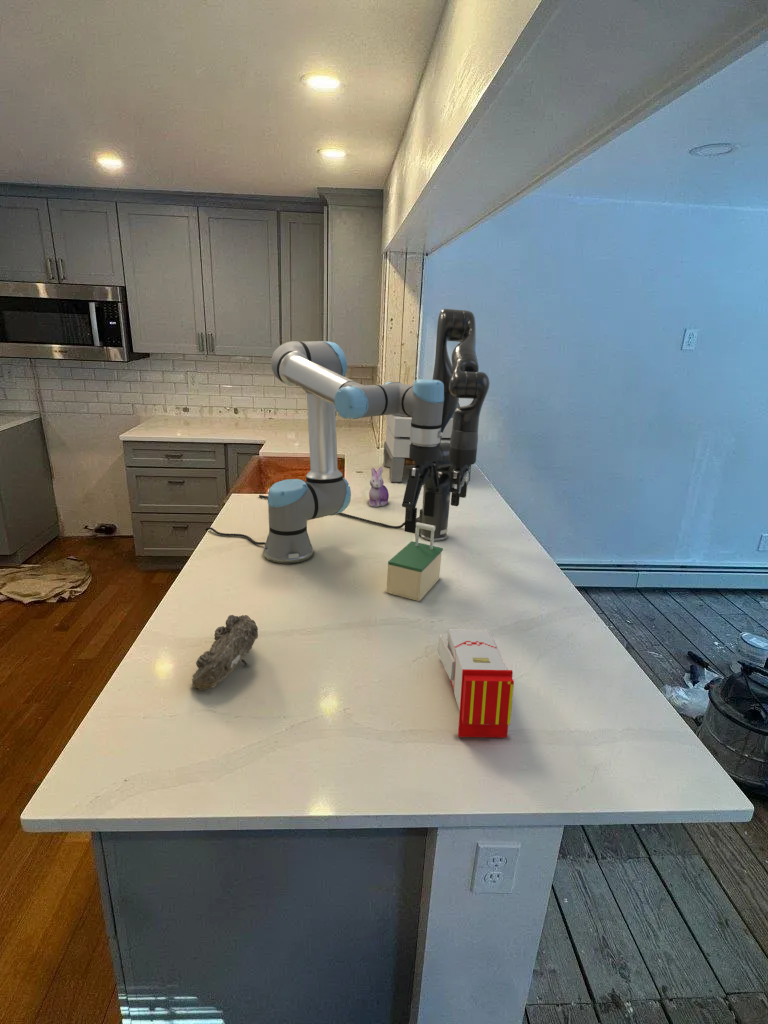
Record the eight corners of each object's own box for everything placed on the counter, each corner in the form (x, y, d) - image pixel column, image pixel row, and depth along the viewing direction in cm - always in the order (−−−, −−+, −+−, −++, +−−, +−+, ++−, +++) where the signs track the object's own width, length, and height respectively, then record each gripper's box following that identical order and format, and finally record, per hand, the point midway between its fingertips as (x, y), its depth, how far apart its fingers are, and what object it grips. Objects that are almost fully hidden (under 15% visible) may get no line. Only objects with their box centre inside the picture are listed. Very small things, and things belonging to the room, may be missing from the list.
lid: (411, 543, 170) (413, 518, 167) (442, 550, 166) (444, 524, 163) (387, 564, 155) (389, 536, 153) (421, 572, 151) (423, 544, 149)
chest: (408, 571, 172) (410, 545, 169) (439, 578, 168) (441, 552, 165) (386, 592, 158) (387, 564, 155) (419, 601, 154) (421, 572, 151)
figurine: (373, 508, 223) (374, 472, 218) (362, 500, 232) (363, 465, 226) (394, 505, 227) (396, 469, 222) (382, 498, 236) (384, 463, 231)
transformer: (382, 463, 289) (386, 382, 275) (445, 464, 293) (451, 384, 279) (390, 482, 257) (394, 392, 243) (460, 483, 261) (468, 394, 247)
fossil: (211, 617, 133) (257, 588, 128) (239, 645, 136) (285, 617, 131) (171, 683, 114) (223, 651, 109) (205, 714, 117) (257, 684, 112)
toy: (488, 613, 130) (523, 677, 101) (484, 667, 133) (517, 744, 104) (435, 612, 130) (455, 676, 101) (432, 666, 133) (451, 743, 103)
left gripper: (421, 456, 128) (415, 542, 136) (454, 436, 150) (448, 512, 157) (390, 451, 131) (386, 536, 138) (428, 433, 153) (423, 507, 160)
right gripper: (471, 452, 149) (465, 510, 154) (482, 442, 161) (476, 496, 167) (443, 449, 151) (438, 506, 157) (456, 439, 164) (452, 492, 169)
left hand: (419, 523), depth 148 cm, fingers open, 13 cm apart
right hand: (458, 501), depth 162 cm, fingers open, 8 cm apart
